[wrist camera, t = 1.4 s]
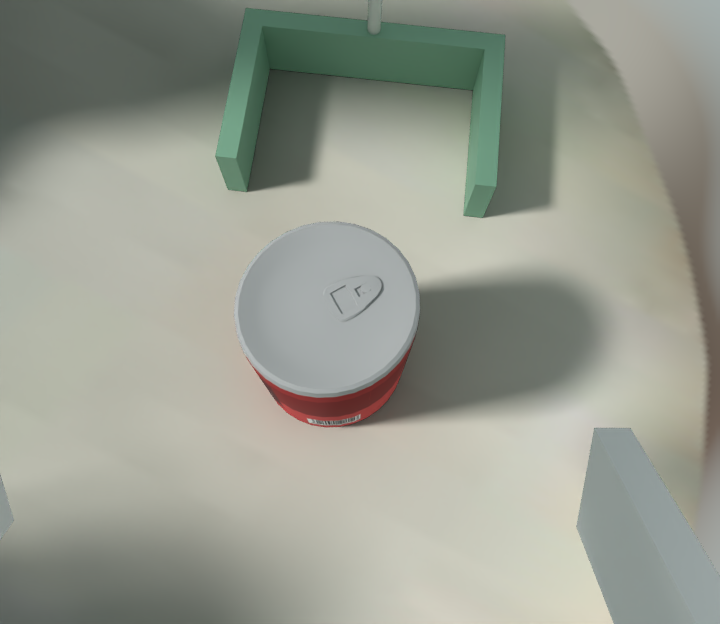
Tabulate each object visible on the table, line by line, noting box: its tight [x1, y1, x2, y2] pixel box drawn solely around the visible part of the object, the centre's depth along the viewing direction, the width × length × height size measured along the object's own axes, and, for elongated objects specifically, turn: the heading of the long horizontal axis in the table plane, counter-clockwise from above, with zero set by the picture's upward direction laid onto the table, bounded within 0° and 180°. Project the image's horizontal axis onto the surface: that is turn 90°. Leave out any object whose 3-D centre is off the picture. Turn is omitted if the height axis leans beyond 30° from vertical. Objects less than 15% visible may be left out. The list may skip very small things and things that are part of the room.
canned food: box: [234, 222, 420, 427], centre depth 32 cm, size 8×8×11 cm
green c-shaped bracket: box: [215, 0, 505, 218], centre depth 34 cm, size 16×10×18 cm, turn 83°
